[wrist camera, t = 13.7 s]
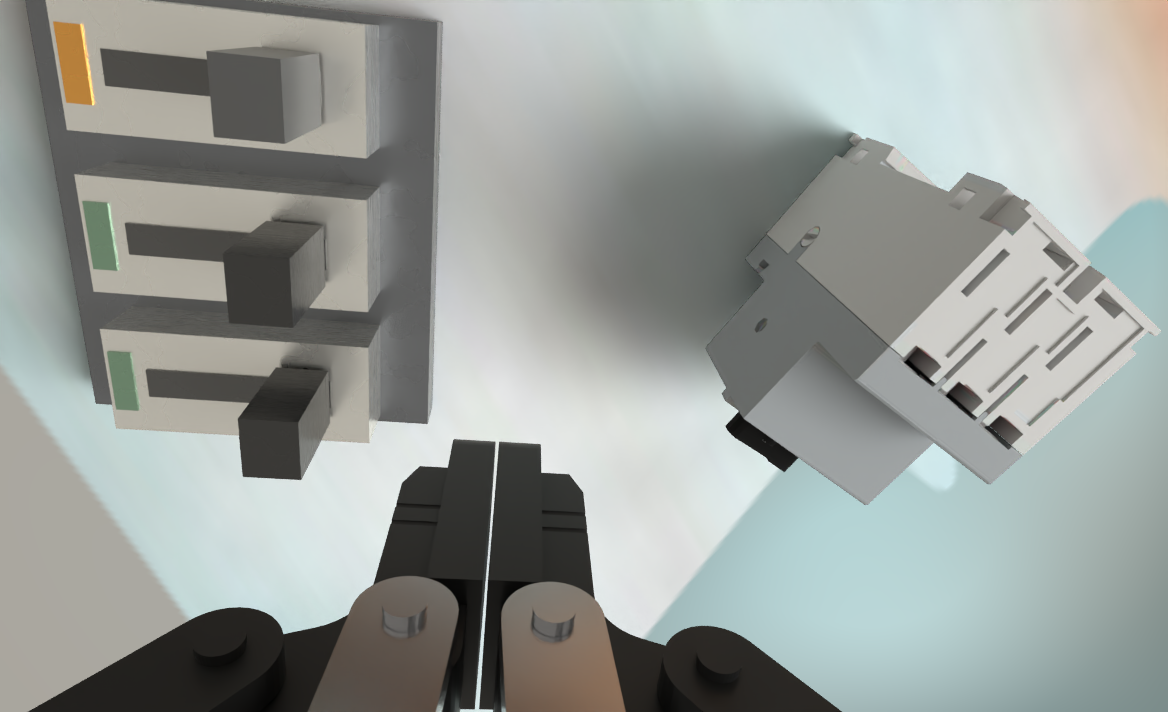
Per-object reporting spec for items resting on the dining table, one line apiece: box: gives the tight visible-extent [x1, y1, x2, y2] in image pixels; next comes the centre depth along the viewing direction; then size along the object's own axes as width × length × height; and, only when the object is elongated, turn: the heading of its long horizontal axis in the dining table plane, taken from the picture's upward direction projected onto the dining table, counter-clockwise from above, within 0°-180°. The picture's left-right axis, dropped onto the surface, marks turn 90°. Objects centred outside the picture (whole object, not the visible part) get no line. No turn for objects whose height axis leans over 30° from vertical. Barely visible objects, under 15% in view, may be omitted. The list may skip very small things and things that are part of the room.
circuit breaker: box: [706, 133, 1161, 505], centre depth 34 cm, size 8×14×15 cm, turn 142°
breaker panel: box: [25, 0, 443, 480], centre depth 33 cm, size 20×17×10 cm
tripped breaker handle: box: [206, 47, 321, 144], centre depth 28 cm, size 3×2×5 cm
